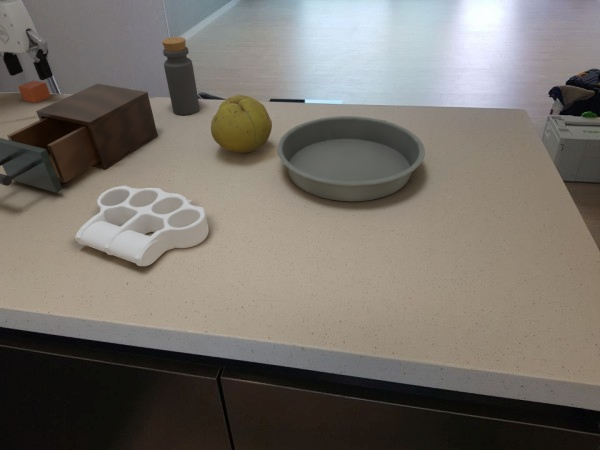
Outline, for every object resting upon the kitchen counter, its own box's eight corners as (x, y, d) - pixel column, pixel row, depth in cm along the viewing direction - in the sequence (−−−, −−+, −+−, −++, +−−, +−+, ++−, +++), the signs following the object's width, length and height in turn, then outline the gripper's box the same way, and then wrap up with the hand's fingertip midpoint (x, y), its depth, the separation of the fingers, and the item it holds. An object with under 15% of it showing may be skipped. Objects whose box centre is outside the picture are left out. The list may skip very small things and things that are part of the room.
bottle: (168, 114, 100) (153, 43, 91) (180, 104, 104) (167, 35, 95) (193, 116, 99) (180, 44, 89) (204, 106, 103) (193, 36, 94)
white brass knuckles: (63, 243, 64) (135, 191, 75) (163, 280, 58) (227, 218, 68) (54, 224, 62) (130, 173, 73) (157, 260, 56) (224, 199, 66)
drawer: (26, 212, 69) (6, 170, 65) (-24, 196, 73) (-45, 155, 69) (116, 155, 83) (104, 118, 79) (70, 144, 87) (57, 108, 83)
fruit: (283, 140, 88) (280, 90, 82) (257, 169, 80) (252, 116, 73) (232, 132, 92) (226, 84, 86) (202, 159, 83) (193, 107, 77)
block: (37, 106, 105) (30, 88, 103) (24, 103, 107) (17, 86, 104) (52, 99, 108) (45, 82, 106) (39, 97, 110) (33, 80, 107)
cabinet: (105, 170, 81) (89, 122, 75) (54, 157, 85) (35, 111, 80) (158, 136, 91) (147, 91, 86) (110, 126, 96) (97, 83, 90)
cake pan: (449, 192, 72) (454, 167, 70) (301, 221, 67) (300, 195, 64) (384, 128, 91) (386, 107, 89) (264, 147, 86) (262, 125, 83)
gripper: (-47, -5, 94) (-9, 77, 104) (10, -1, 88) (45, 85, 98) (-14, -12, 99) (19, 67, 110) (42, -9, 93) (71, 74, 104)
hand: (31, 75), depth 104 cm, fingers open, 9 cm apart
